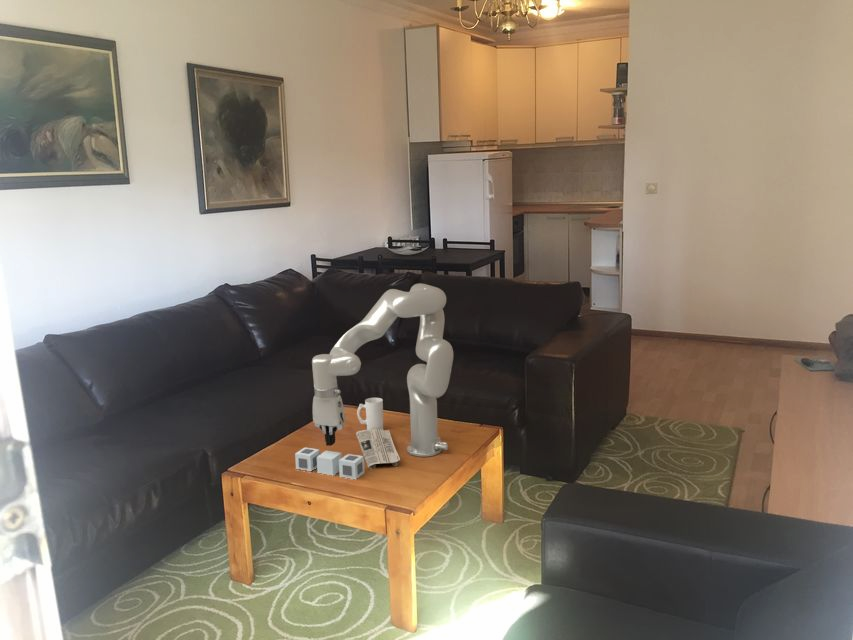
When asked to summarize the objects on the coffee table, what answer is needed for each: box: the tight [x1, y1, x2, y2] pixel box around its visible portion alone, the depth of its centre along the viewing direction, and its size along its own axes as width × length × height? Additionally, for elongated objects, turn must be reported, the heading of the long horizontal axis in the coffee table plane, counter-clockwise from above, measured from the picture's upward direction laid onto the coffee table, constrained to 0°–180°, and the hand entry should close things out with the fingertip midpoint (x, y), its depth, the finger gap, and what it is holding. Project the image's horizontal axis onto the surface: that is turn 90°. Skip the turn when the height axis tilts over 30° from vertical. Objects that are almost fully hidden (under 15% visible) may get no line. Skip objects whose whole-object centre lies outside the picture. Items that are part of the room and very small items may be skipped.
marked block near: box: [338, 453, 365, 481], centre depth 243 cm, size 6×6×6 cm
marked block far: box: [294, 446, 321, 471], centre depth 250 cm, size 6×6×6 cm
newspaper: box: [355, 429, 401, 470], centre depth 264 cm, size 35×12×4 cm, turn 12°
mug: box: [356, 397, 384, 430], centre depth 284 cm, size 10×7×12 cm, turn 98°
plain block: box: [316, 450, 343, 477], centre depth 246 cm, size 6×6×6 cm
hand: (330, 444), depth 245 cm, fingers closed
